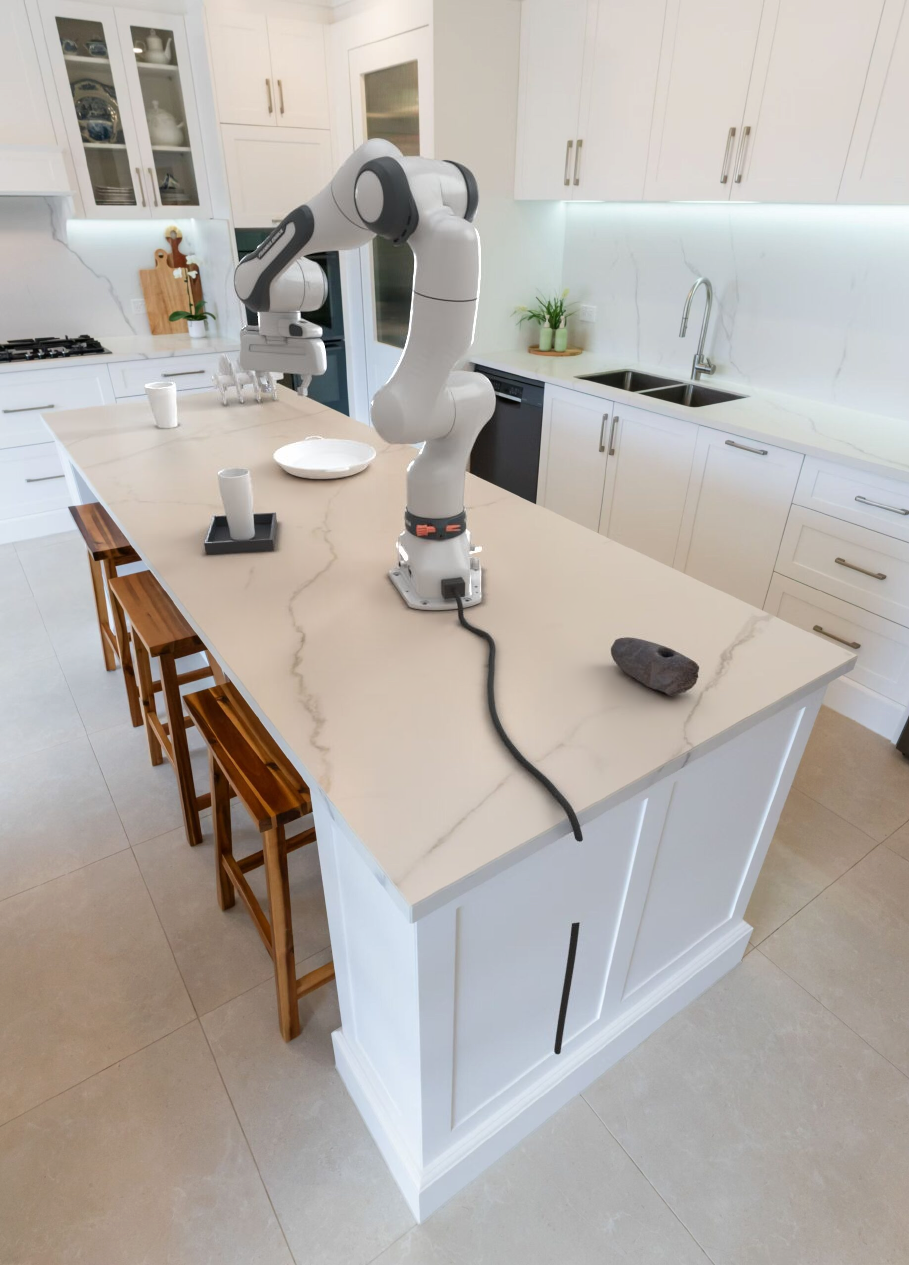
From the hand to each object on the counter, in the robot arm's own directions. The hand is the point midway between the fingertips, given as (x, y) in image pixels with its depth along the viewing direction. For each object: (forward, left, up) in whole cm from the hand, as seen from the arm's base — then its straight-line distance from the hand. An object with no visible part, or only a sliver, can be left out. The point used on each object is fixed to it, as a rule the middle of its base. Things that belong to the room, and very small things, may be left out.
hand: (284, 394), depth 163 cm
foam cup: (+85, +44, -28) cm, 99 cm away
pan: (+35, -7, -28) cm, 45 cm away
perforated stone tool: (-80, -56, -28) cm, 102 cm away
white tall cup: (-13, +12, -28) cm, 33 cm away
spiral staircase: (+114, +19, -28) cm, 119 cm away
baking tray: (-13, +12, -28) cm, 33 cm away
